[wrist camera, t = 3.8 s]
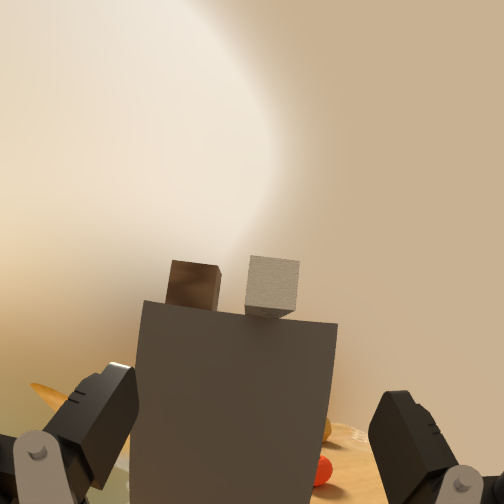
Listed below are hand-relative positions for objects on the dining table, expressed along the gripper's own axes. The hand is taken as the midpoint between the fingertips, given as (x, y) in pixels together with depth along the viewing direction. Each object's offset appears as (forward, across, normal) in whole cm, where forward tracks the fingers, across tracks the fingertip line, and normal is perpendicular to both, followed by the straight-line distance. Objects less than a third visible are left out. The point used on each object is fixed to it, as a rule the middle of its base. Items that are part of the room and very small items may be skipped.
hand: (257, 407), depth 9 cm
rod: (+22, 0, +8) cm, 23 cm away
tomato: (+28, -15, +48) cm, 57 cm away
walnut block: (+23, +7, +8) cm, 26 cm away
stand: (+7, +2, +36) cm, 37 cm away
